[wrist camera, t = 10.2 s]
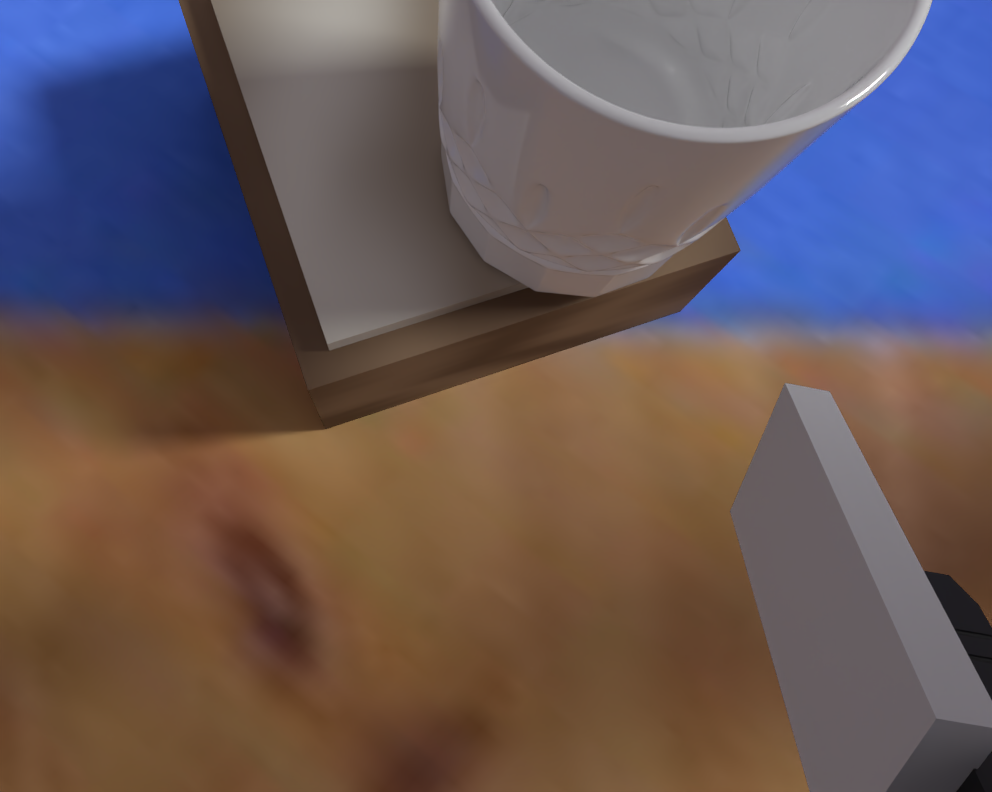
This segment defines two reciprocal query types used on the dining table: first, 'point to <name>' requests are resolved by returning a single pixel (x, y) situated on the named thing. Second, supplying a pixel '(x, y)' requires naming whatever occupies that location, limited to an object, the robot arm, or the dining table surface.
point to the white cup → (638, 119)
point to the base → (384, 208)
